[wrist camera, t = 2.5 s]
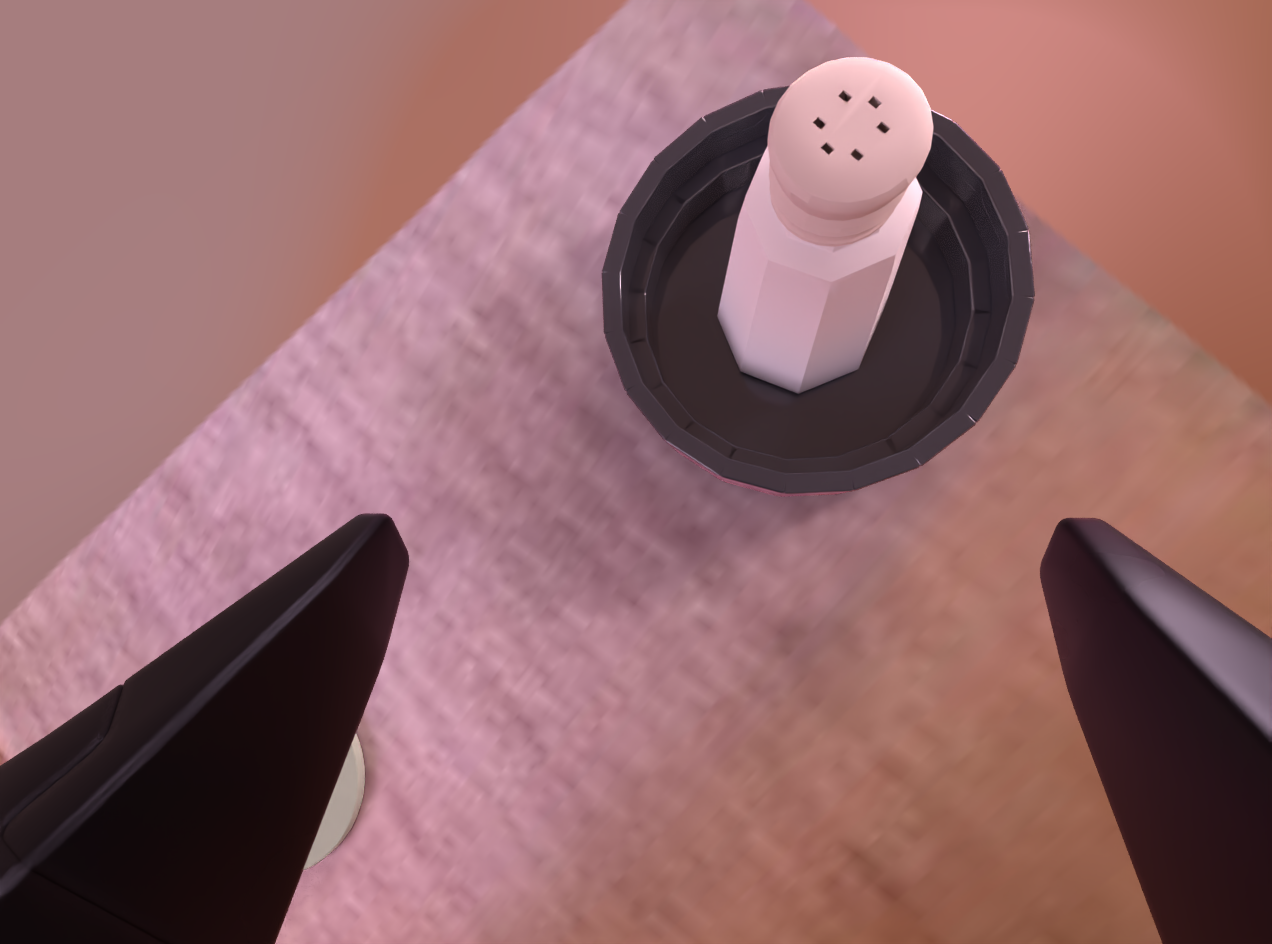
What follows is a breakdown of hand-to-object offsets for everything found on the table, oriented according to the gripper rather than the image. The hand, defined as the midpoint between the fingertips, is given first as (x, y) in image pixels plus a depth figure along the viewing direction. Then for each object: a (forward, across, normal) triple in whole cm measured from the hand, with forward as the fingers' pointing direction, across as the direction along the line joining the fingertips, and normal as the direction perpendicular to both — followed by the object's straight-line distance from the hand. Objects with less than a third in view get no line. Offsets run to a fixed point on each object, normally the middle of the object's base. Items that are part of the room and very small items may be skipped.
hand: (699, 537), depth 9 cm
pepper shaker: (+15, -2, +4) cm, 15 cm away
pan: (+15, -2, +4) cm, 16 cm away
